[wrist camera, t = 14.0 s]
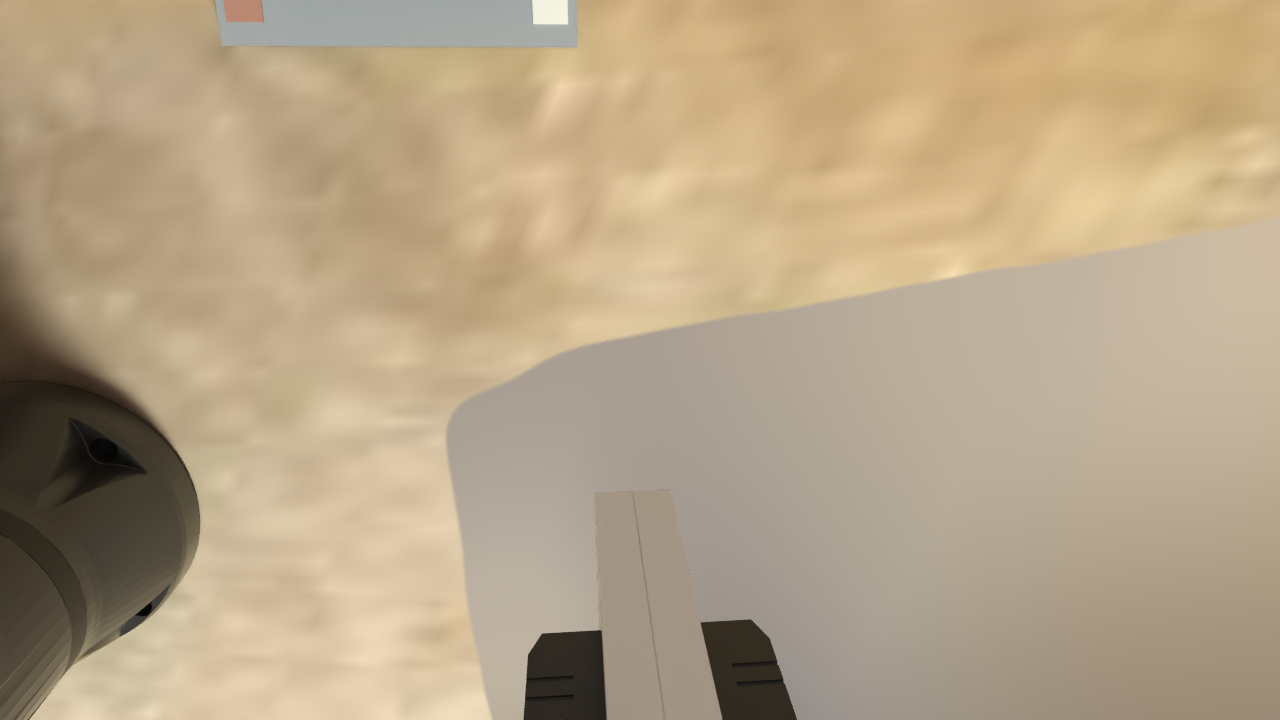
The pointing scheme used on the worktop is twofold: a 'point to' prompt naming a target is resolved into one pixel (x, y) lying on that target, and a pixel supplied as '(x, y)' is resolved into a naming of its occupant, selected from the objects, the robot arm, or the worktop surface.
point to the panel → (398, 23)
